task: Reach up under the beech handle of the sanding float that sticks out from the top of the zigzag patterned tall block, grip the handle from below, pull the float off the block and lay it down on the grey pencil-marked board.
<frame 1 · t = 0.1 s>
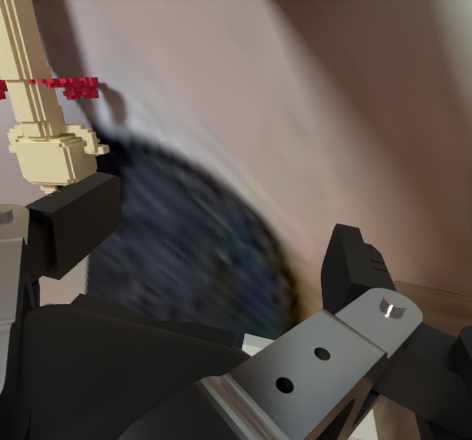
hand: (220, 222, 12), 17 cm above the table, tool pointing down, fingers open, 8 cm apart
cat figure: (51, 50, 28), on the table
zigzag patterned tall block: (437, 331, 34), on the table
grey board: (332, 390, 41), on the table
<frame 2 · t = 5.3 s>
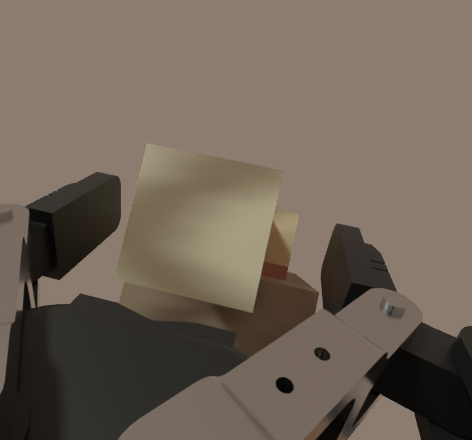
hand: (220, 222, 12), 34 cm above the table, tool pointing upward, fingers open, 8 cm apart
sanding float: (234, 263, 25), point 32 cm above the table, touching zigzag patterned tall block
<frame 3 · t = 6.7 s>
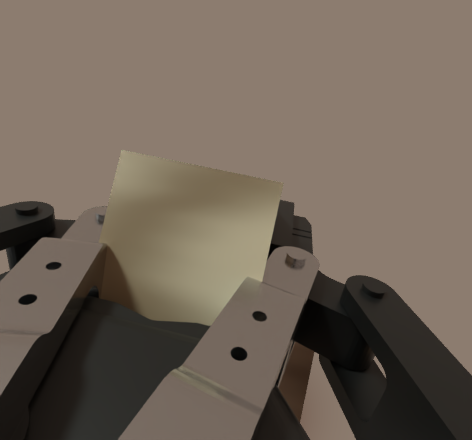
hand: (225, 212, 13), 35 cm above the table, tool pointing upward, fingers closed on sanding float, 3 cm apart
sanding float: (232, 272, 23), point 32 cm above the table, touching gripper, zigzag patterned tall block
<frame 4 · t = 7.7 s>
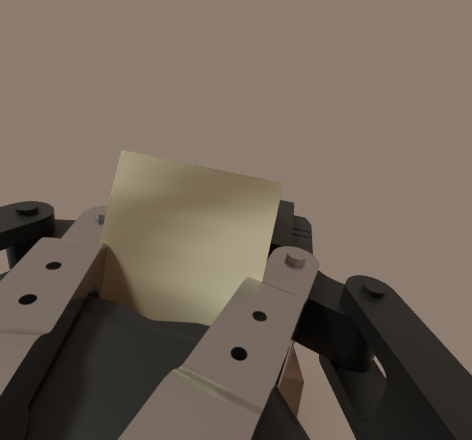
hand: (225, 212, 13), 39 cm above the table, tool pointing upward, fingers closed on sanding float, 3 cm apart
sanding float: (232, 272, 23), point 36 cm above the table, touching gripper
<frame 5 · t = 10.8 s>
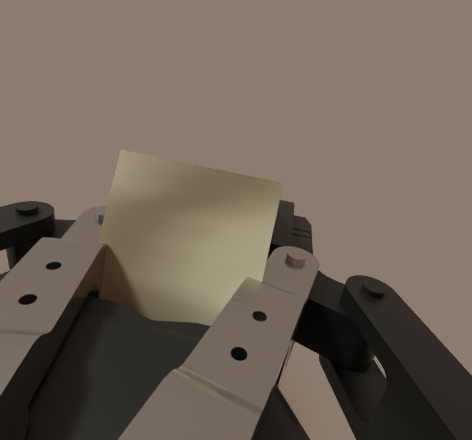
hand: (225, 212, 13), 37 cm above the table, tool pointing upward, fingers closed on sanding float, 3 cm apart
sanding float: (232, 272, 23), point 33 cm above the table, touching gripper
when the fingers open (13 cm above the table, at t = 14.1 s): sanding float drops 3 cm, resting on grey board.
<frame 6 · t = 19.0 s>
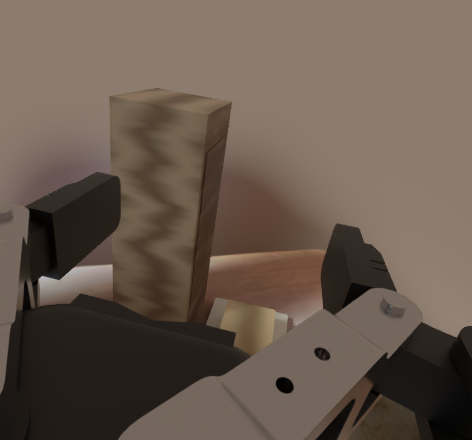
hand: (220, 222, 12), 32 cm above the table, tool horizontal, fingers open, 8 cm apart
marble piece: (357, 408, 43), on the table
zigzag patterned tall block: (163, 314, 52), on the table
grey board: (237, 373, 44), on the table
sanding float: (242, 347, 46), point 2 cm above the table, touching grey board
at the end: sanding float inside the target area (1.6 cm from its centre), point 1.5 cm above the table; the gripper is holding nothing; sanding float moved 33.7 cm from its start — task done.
